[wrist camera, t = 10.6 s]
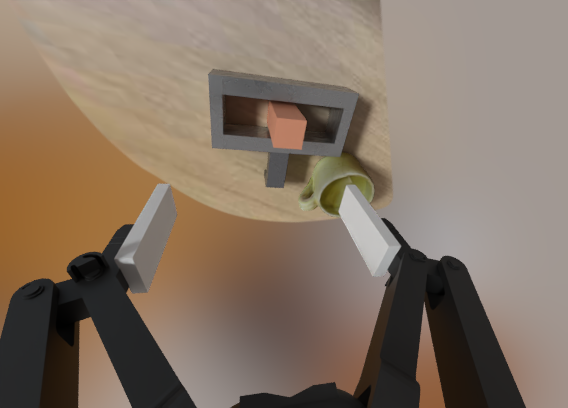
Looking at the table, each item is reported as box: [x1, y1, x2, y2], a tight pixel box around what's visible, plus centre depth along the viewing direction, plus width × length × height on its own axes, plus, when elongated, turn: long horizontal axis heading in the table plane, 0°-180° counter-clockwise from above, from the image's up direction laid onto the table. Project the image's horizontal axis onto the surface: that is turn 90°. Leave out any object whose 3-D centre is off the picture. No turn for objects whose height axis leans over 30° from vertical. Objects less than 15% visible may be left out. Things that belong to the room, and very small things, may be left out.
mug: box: [299, 152, 374, 217], centre depth 39 cm, size 12×10×10 cm
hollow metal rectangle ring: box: [208, 69, 359, 188], centre depth 34 cm, size 16×19×5 cm
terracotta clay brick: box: [267, 100, 307, 150], centre depth 30 cm, size 4×4×10 cm
